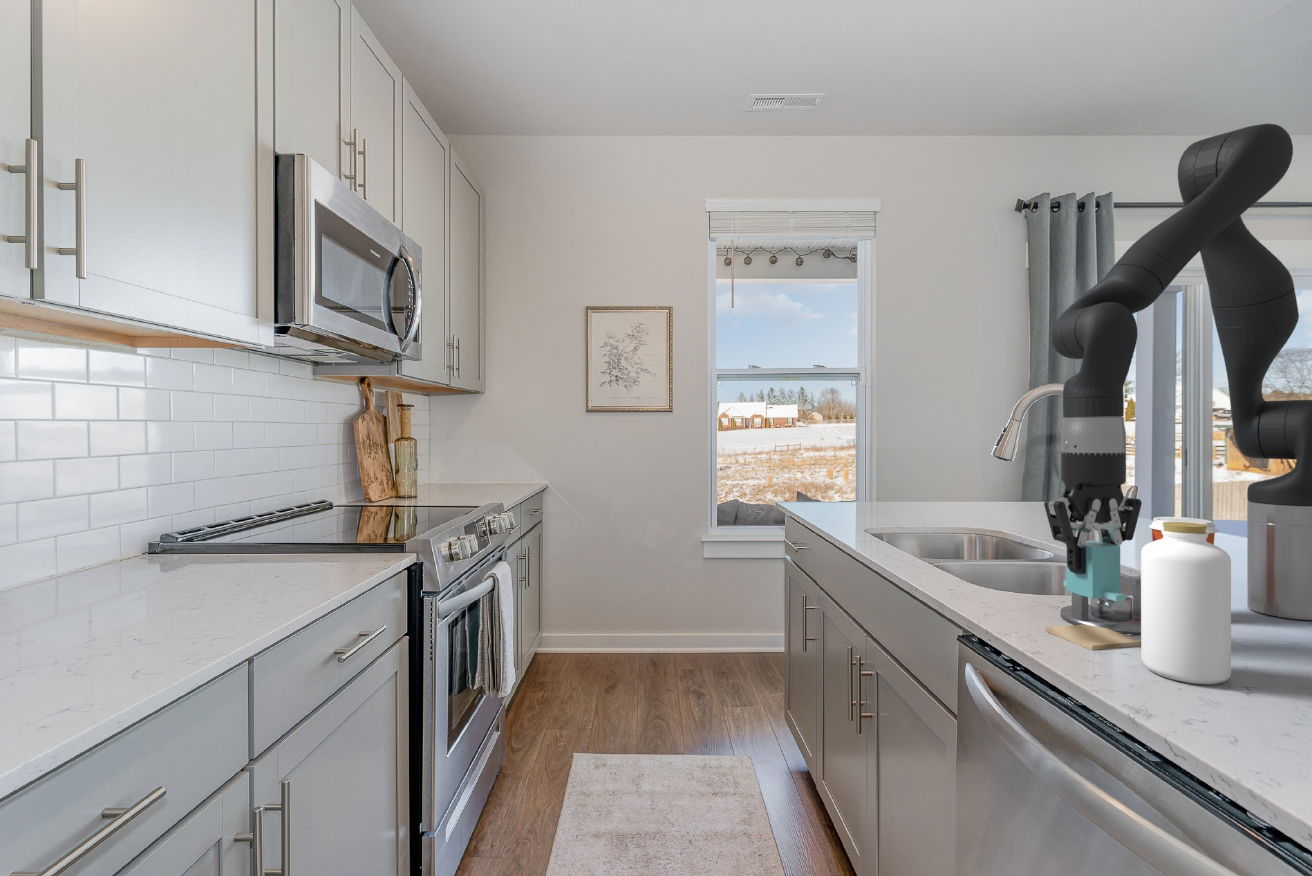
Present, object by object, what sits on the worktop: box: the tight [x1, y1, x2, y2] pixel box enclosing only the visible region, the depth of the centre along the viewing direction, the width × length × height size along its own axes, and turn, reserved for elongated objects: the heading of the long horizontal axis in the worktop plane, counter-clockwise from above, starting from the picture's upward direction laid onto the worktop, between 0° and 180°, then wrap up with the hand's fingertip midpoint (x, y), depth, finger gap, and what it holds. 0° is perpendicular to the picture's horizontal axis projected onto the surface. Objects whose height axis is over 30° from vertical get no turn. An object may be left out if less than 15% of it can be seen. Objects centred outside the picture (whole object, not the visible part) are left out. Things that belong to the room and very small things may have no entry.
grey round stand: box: [1060, 575, 1141, 636], centre depth 98 cm, size 13×13×6 cm
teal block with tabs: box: [1063, 540, 1126, 601], centre depth 90 cm, size 9×4×7 cm, turn 10°
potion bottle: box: [1140, 522, 1232, 685], centre depth 77 cm, size 8×8×18 cm
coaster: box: [1045, 624, 1141, 651], centre depth 91 cm, size 8×8×1 cm
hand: (1093, 571), depth 90 cm, fingers closed on teal block with tabs, 4 cm apart
